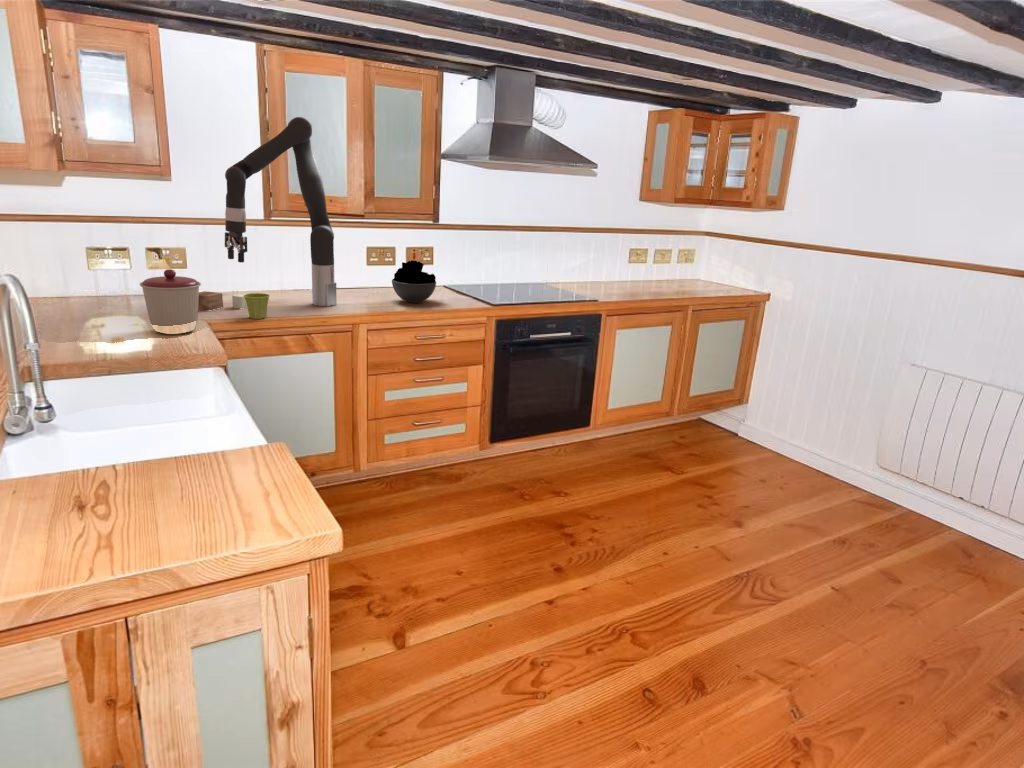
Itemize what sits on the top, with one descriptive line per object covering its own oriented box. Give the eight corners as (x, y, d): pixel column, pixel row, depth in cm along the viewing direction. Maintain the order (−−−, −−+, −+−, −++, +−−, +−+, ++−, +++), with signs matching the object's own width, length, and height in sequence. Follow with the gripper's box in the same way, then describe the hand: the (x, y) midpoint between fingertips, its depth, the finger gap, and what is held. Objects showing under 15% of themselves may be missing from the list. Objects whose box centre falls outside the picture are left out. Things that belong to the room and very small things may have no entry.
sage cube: (251, 307, 265) (251, 295, 264) (242, 309, 261) (241, 297, 260) (242, 305, 267) (241, 293, 266) (232, 307, 263) (232, 295, 261)
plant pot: (243, 320, 243) (242, 297, 241) (245, 314, 252) (244, 292, 249) (270, 320, 246) (269, 297, 243) (271, 315, 254) (270, 293, 252)
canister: (133, 331, 218) (126, 268, 211) (183, 323, 232) (178, 264, 226) (165, 340, 209) (159, 275, 203) (215, 332, 224) (211, 270, 218)
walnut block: (223, 308, 261) (222, 293, 259) (209, 311, 254) (208, 296, 252) (205, 305, 263) (204, 291, 261) (192, 309, 255) (190, 294, 254)
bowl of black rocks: (427, 298, 312) (428, 258, 306) (441, 306, 295) (443, 264, 289) (386, 298, 303) (386, 258, 297) (399, 307, 286) (399, 264, 280)
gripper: (253, 222, 256) (253, 263, 261) (236, 217, 265) (236, 257, 270) (235, 221, 251) (235, 263, 255) (217, 217, 259) (218, 257, 264)
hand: (235, 260), depth 262 cm, fingers open, 8 cm apart
